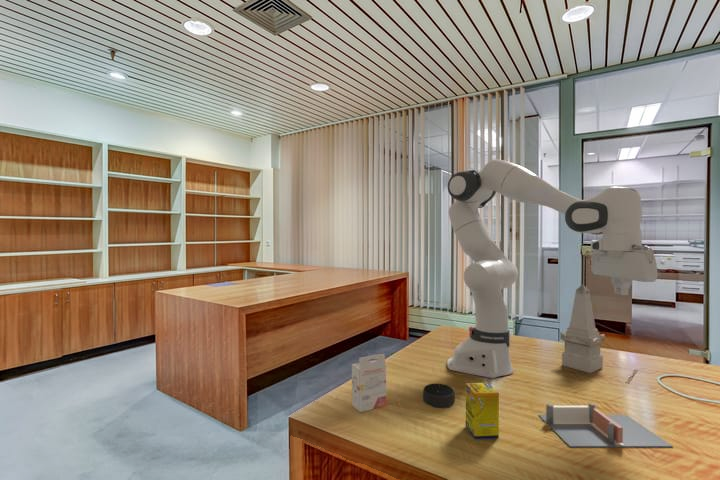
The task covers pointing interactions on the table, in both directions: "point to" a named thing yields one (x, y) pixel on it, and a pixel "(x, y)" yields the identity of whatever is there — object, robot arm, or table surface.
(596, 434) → the card
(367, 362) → the ink cartridge box
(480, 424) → the supplement box
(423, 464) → the table surface
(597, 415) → the fence panel
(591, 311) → the miniature monument
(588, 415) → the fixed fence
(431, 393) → the smart speaker
